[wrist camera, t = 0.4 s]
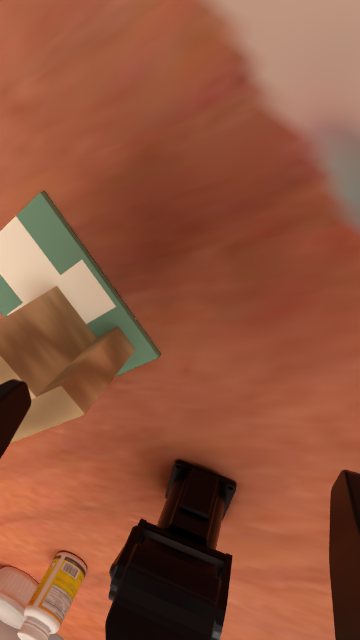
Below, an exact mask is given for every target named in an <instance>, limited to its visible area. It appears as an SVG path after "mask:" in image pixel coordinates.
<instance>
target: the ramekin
mask: <svg viewBox="0 0 360 640" xmlns="http://www.w3.org/2000/svg"><path fill="white" fill-rule="evenodd" d="M38 586H39V584H38V583H37V582H36V581H35V580H34V579H33V578H32V577H30V576H29V575H28V574H26V573H25V572H23V571H21V570H19V569H17V568H14V567H9V566H7V567H4V568H2V569H0V620H2V621H3V622H4V623H6V624H8V625H10V626H12V627H14V628H17V629H20V628H21V626H22V624H23V623H24V621H25V620H26V618H25V616H24V610H25V608H26V606H27V604H28V603H29V601H30V599H31V598H32V596H33V594H34V592H35V591H36V589H37V587H38Z"/></svg>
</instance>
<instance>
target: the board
mask: <svg viewBox="0 0 360 640" xmlns="http://www.w3.org/2000/svg"><path fill="white" fill-rule="evenodd" d="M56 286H58V288H59V289H60V290H61V292H62V293H63V294H64V296H65V297H66V298H67V300H68V301H69V302H70V304H71V305H72V306H73V307H74V309H75V310H76V311H77V313H78V314H79V315H80V317H81V318H82V319H83V321H84V322H85V323H86V325H87V326H88V327H89V328H90V330H91V331H92V332H93V334H94V335H95V336H96V338H97V337H99V336H101V335H103V334H105V333H107V332H108V331H110V330H112V329H114V328H116V327H118V326H119V327H120V329H121V330H122V332H123V333H124V334H125V336H126V337H127V338H128V340H129V341H130V342H131V344H132V345H133V347H134V348H135V349H136V350H135V351H134V352H133V354H132V355H131V356H130V358H129V359H128V360H127V361H126V363H125V364H124V365H123V367H122V368H121V369H120V370H119V372H118V373H117V374H116V376H118V375H120V374H122V373H125V372H127V371H129V370H131V369H134V368H136V367H138V366H141V365H143V364H145V363H147V362H150V361H152V360H154V359H157V358H159V357H160V355H161V354H160V352H159V351H158V350H157V348H156V347H155V345H154V344H153V343H152V341H151V340H150V338H149V337H148V336H147V334H146V333H145V331H144V330H143V329H142V327H141V326H140V324H139V323H138V322H137V320H136V319H135V317H134V316H133V315H132V313H131V312H130V310H129V309H128V308H127V306H126V305H125V303H124V302H123V301H122V299H121V298H120V296H119V295H118V294H117V292H116V291H115V289H114V288H113V287H112V285H111V284H110V282H109V281H108V280H107V278H106V277H105V275H104V274H103V273H102V271H101V270H100V268H99V267H98V266H97V264H96V263H95V261H94V260H93V259H92V257H91V256H90V254H89V253H88V252H87V250H86V249H85V247H84V246H83V245H82V243H81V242H80V240H79V239H78V238H77V236H76V235H75V233H74V232H73V231H72V229H71V228H70V226H69V225H68V224H67V222H66V221H65V219H64V218H63V217H62V215H61V214H60V212H59V211H58V210H57V208H56V207H55V205H54V204H53V203H52V201H51V200H50V198H49V197H48V196H47V194H46V193H45V191H44V192H40V193H39V194H38V195H37V196H36V197H35V198H34V199H33V200H32V201H31V202H30V203H29V204H28V205H27V206H26V207H25V208H24V209H23V210H22V211H21V212H20V213H19V214H18V215H17V216H16V217H15V218H14V219H13V220H11V221H10V222H9V223H8V224H7V225H6V226H5V227H4V228H3V229H2V230H1V231H0V313H1V314H2V315H3V316H4V317H6V316H8V315H9V314H11V313H13V312H14V311H16V310H18V309H19V308H21V307H23V306H24V305H26V304H28V303H29V302H31V301H33V300H34V299H36V298H37V297H39V296H41V295H42V294H44V293H46V292H47V291H49V290H51V289H52V288H54V287H56Z"/></svg>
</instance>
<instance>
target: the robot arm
mask: <svg viewBox="0 0 360 640" xmlns="http://www.w3.org/2000/svg"><path fill="white" fill-rule="evenodd" d="M31 402H32V400H31V396H30V392H29V389H28V385H27V383H26V382H24V381H21V380H17V379H11V380H8V381H6V382H4V383H2V384H0V458H1V457H2V455H3V454H4V452H5V450H6V449H7V447H8V446H9V444H10V442H11V440H12V438H13V437H14V435H15V433H16V431H17V430H18V428H19V426H20V424H21V423H22V421H23V419H24V417H25V416H26V414H27V412H28V410H29V409H30V406H31ZM235 491H236V484H235V483H234V482H232V481H230V480H227V479H225V478H222V477H220V476H217V475H215V474H212V473H210V472H207V471H205V470H202V469H199V468H197V467H194V466H192V465H189V464H187V463H184V462H182V461H179V460H176V461H175V463H174V465H173V469H172V473H171V477H170V481H169V485H168V488H167V492H166V499H167V500H166V503H165V505H164V508H163V511H162V513H161V516H160V519H159V521H158V524H157V526H156V525H153V524H151V523H148V522H147V521H146V520H144V519H142V518H141V520H140V522H139V524H138V526H134V527H133V528H132V531H131V533H130V535H129V537H128V540H127V542H126V544H125V546H124V547H123V549H122V550H121V552H120V553H119V555H118V556H117V558H116V559H115V561H114V563H113V564H112V566H111V568H110V572H109V573H110V577H111V580H112V581H111V585H110V587H111V588H110V592H109V599H110V600H112V601H113V603H112V605H111V608H110V611H109V613H108V616H107V619H106V625H105V629H106V640H219V639H220V636H221V632H222V627H223V622H224V618H225V612H226V606H227V599H228V590H229V581H230V573H231V564H232V555H230V554H228V553H226V554H224V553H222V552H220V551H217V550H216V546H217V541H218V536H219V531H220V527H221V522H222V520H223V518H224V516H225V513H226V511H227V509H228V506H229V504H230V502H231V500H232V497H233V495H234V493H235ZM329 564H330V578H331V590H332V602H333V614H334V626H335V638H336V640H360V474H359V473H356V472H352V471H349V470H342V471H341V473H340V474H339V476H338V478H337V480H336V481H335V483H334V485H333V487H332V490H331V500H330V540H329Z"/></svg>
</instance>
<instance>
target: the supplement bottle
mask: <svg viewBox="0 0 360 640" xmlns="http://www.w3.org/2000/svg"><path fill="white" fill-rule="evenodd" d="M86 571H87V569H86V566H85V564H84V563H83V561H82V560H80V559H79V558H78V557H76V556H75V555H73V554H70V553H67V552H60V553H58V554H57V555H56V556H55V558H54V560H53V561H52V563H51V565H50V567H49V568H48V570H47V572H46V574H45V575H44V577H43V579H42V580H41V582H40V584H39V586H38V587H37V589H36V591H35V592H34V594H33V596H32V598H31V599H30V601H29V603H28V604H27V606H26V608H25V610H24V616H25V618H26V620H25V621H24V623H23V624H22V626H21V628H20V630H19V632H18V636H19V638H20V639H21V640H48V638H49V634H54V633H56V632H57V631H58V630H59V628H60V626H61V624H62V622H63V620H64V618H65V616H66V614H67V612H68V610H69V608H70V605H71V603H72V601H73V599H74V597H75V595H76V593H77V591H78V589H79V587H80V585H81V583H82V581H83V579H84V577H85V575H86Z"/></svg>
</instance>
